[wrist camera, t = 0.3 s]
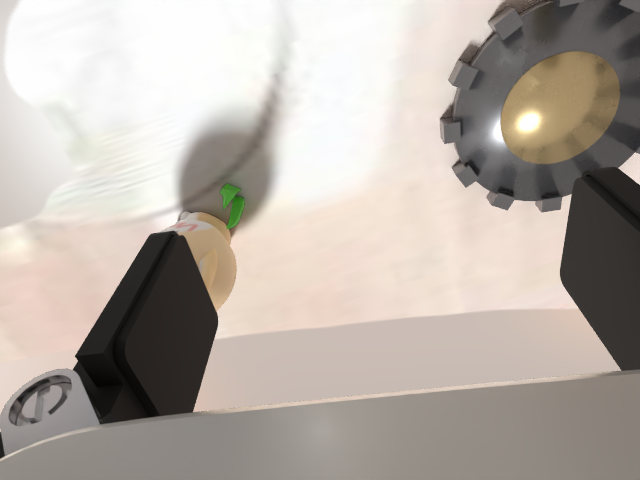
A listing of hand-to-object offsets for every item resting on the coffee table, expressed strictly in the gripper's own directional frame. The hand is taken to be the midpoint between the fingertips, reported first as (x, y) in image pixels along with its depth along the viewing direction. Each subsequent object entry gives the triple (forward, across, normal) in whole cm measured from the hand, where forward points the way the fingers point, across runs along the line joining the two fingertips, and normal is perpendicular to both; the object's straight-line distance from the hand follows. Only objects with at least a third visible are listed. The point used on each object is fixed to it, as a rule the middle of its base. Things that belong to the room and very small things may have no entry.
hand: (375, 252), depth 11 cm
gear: (+36, -20, +11) cm, 42 cm away
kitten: (+36, +19, +19) cm, 45 cm away
